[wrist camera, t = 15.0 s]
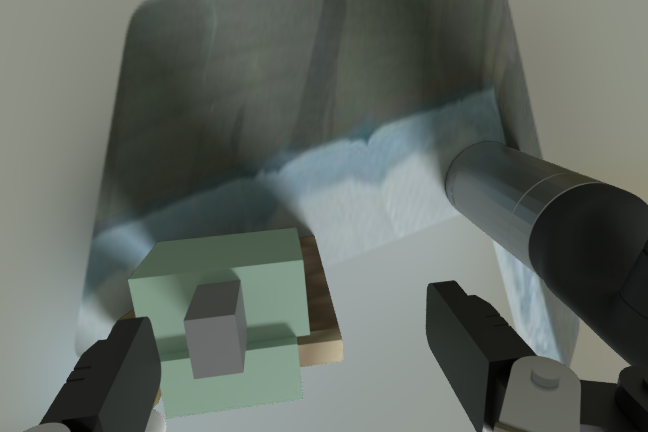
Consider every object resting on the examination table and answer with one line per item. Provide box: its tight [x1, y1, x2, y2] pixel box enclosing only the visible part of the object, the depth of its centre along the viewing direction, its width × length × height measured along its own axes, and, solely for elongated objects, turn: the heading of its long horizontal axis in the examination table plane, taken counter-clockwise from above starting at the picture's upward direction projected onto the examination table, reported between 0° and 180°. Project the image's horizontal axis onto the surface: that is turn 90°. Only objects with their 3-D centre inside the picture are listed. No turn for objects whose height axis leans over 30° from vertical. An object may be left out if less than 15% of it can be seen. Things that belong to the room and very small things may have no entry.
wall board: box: [135, 236, 343, 367], centre depth 42 cm, size 17×7×20 cm, turn 93°
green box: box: [128, 227, 310, 418], centre depth 33 cm, size 12×11×13 cm
